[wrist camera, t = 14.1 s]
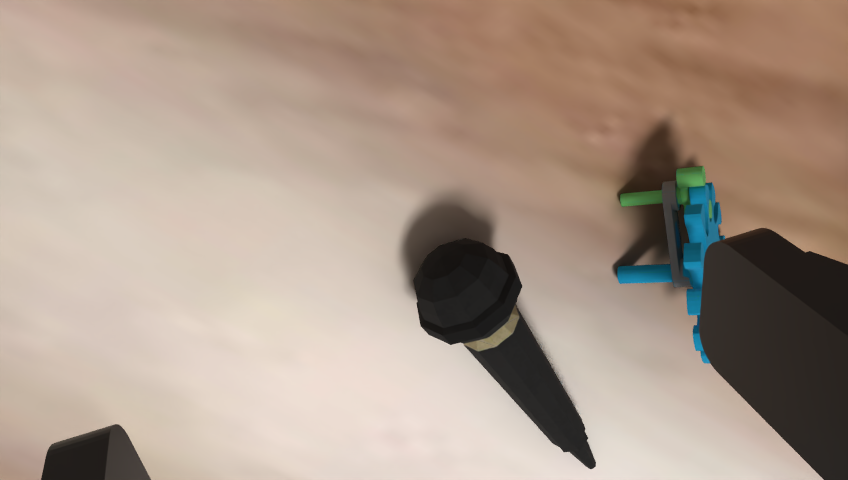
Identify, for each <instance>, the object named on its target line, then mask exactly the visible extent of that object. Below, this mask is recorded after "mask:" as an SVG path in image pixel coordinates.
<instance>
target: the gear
mask: <svg viewBox="0 0 848 480" xmlns="http://www.w3.org/2000/svg"><path fill="white" fill-rule="evenodd" d="M620 202H621V206H622V207H623V206H635V205H647V204H659V203H663V209H664V217H665V225H666V233H667V241H668V249H669V257H670V264H660V265H637V266H619V267H618V273H617V274H618V281H619V283H620V284H622V283H654V282H673V284H674V287H693V289H687V309H688V315H697V318H698V320H697V325H694V327H693V339H694V345H695V349H696V351H701V358H702V361H703V362H704V363H710V362H709V360H708V358H707V356H706V354H705V352H704V350H703V347H702V344H701V340H700V335H699V321H700V308H701V295H702V281H703V268H704V257H705V252H706V250H707V248H708V246H709V245H710V244H712V243H714V242H717V241H720V240H723V239H725V236H724V235H723V236H719V233H718V224H721V210H720V204H719V202H716V203H715V190H714V186H713V184H712V183H706V177H705V169H704V166H699V167H689V168H680V169H677V171H676V181H666V182H663V184H662V190H657V191H646V192H635V193H624V194H621V196H620ZM681 204H683V206H684V220H685V225H686V228H687V232H688V236H689V242H690V243H684V254H683V253H682V245H681V236H680V228H679V220H678V212H677V210H680V207H681Z"/></svg>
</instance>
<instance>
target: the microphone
mask: <svg viewBox="0 0 848 480" xmlns="http://www.w3.org/2000/svg"><path fill="white" fill-rule="evenodd" d="M414 285H415V290H416V296H417V300H418V302H417V308H418V314H419V319H420V325H421V327H422V328H423V329H424V330H425V331H426V332H427V333H428V334H429V335H431V336H433V337H435V338H437V339H439V340H442V341H444V342H446V343H448V344H450V345H452V344H456V343H460V342H461V343H464V346H465V347H466V348H467V349H468V350H469V351H470V352H471V353H472V354H473V356H474V357H475V358H476V359H477V360H478V361H479V362H480V363H481V364H482V366H483V367H484V368H485V369H486V370H487V371H488V372H489V373H490V374H491V376H492V377H493V378H494V379H495V380H496V381H497V382H498V383H499V384H500V385H501V387H502V388H503V389H504V390H505V391H506V392H507V393H508V394H509V395H510V397H511V398H512V399H513V400H514V401H515V402H516V403H517V404H518V405H519V407H520V408H521V409H522V410H523V411H524V412H525V413H526V414H527V415H528V416H529V418H530V419H531V420H532V421H533V422H534V423H535V424H536V425H537V426H538V428H539V429H540V430H541V431H542V432H543V433H544V434H545V435H546V436H547V438H548V439H549V440H550V441H551V442H552V443H553V444H555V445H557V446H558V447H560V448H561V449H562V450H563V452H570V453H571V454H572V455H574V456H575V457H576V458H577V459H578V460H579V461H581V462H582V463H583V464H584V465H585V466H586V467H588V468H590V469H593V468H594V467H595V466H596V462H595V459H594V457H593V454H592V452H591V449H590V447H589V444H588V442H587V439H588V437H587V435H586V433H585V427H584V424H583V422H582V419H581V417H580V416H579V414H578V412H577V411H576V409H575V407H574V405H573V404H572V402H571V400H570V398H569V397H568V395H567V393H566V391H565V390H564V388H563V386H562V384H561V383H560V381H559V379H558V378H557V376H556V374H555V372H554V371H553V369H552V367H551V365H550V364H549V362H548V360H547V358H546V357H545V355H544V353H543V352H542V350H541V348H540V346H539V345H538V343H537V341H536V339H535V338H534V336H533V334H532V332H531V331H530V329H529V327H528V325H527V324H526V322H525V320H524V319H523V317H522V315H521V313H520V312H519V310H518V308H517V306H516V305H515V304H516V302H517V298H518V295H519V293H520V291H521V288H522V284H521V282H520V279H519V276H518V274H517V271H516V269H515V266H514V264H513V262H512V260H511V259H510V257H509V255H507V254H504V253H500V252H496V251H495V250H494V249H493V248H491V247H489V246H487V245H485V244H484V243H481V242H477V241H473V240H470V239H466V238H465V239H462V240H458V241H454V242H450V243H447V244H444V245H441V246H439V247H438V248H436V249H435V250H434V251H433V252H431V253H430V254H429V255H428V256H427V257H426V259H425V260H424V262H423V264H422V266H421V268H420V269H419V271H418V273H417V275H416V277H415V279H414Z"/></svg>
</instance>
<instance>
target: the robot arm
mask: <svg viewBox="0 0 848 480" xmlns="http://www.w3.org/2000/svg"><path fill="white" fill-rule="evenodd" d="M699 335H700V340H701V344H702V347H703V350H704V352H705V354H706V356H707V358H708V360H709V362H710V363H711V365H712V366H713V367H714V369H715V370H716V371H717V372H718V373H719V374H720V375H721V376H722V377H723V378H724V379H725V380H726V381H727V382H728V383H729V384H730V385H731V386H732V387H733V388H734V389H735V390H736V391H737V392H738V393H739V394H740V395H741V396H742V397H743V398H744V399H745V400H746V401H747V402H748V404H749V405H750V406H751V407H752V408H753V409H754V410H755V411H756V412H757V413H758V414H759V415H760V416H761V417H762V418H763V419H764V420H765V421H766V422H767V423H768V424H769V425H770V426H771V427H772V428H773V429H774V430H775V431H776V432H777V433H778V434H779V435H780V436H781V437H782V438H783V439H784V440H785V441H786V442H787V443H788V444H789V445H790V446H791V447H792V448H793V449H794V450H795V451H796V452H797V453H798V454H799V455H800V456H801V457H802V458H803V459H804V460H805V461H806V462H807V463H808V464H809V465H810V466H811V467H812V468H813V469H814V470H815V471H816V472H817V473H818V474H819V475H820V476H821V477H822V478H823V479H824V480H848V265H847V264H844V263H842V262H839V261H836V260H833V259H830V258H827V257H825V256H822V255H819V254H816V253H813V252H811V251H809V252H806V253H805V252H804V251H802V250H801V249H799V248H798V247H796V246H795V245H793V244H792V243H790V242H789V241H787V240H786V239H784V238H783V237H781V236H780V235H779V234H777V233H776V232H774V231H772V230H770V229H767V228H759V229H756V230H752V231H749V232H746V233H743V234H739V235H736V236H733V237H730V238H726V239H723V240H720V241H717V242H714V243H712V244H710V245H709V246H708V248H707V250H706V252H705V257H704V268H703V281H702V295H701V308H700V321H699ZM41 480H151V479H150V477H149V475H148V473H147V471H146V469H145V467H144V466H143V464H142V462H141V460H140V458H139V456H138V454H137V452H136V450H135V448H134V446H133V444H132V443H131V441H130V439H129V437H128V435H127V433H126V432H125V430H124V429H123V428H122V427H121V426H120V425H118V424H115V425H112V426H108V427H105V428H102V429H99V430H95V431H92V432H89V433H86V434H82V435H79V436H76V437H73V438H69V439H66V440H63V441H60V442H56V443H54V444H52V445H51V446H50V447H49V449H48V451H47V455H46V459H45V464H44V469H43V473H42V478H41Z"/></svg>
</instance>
